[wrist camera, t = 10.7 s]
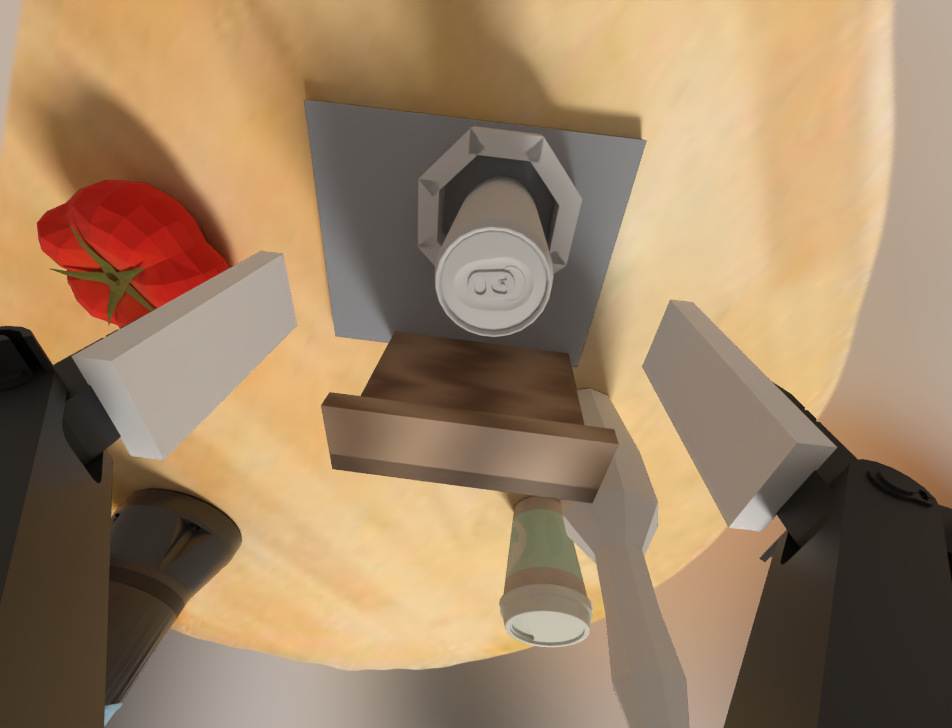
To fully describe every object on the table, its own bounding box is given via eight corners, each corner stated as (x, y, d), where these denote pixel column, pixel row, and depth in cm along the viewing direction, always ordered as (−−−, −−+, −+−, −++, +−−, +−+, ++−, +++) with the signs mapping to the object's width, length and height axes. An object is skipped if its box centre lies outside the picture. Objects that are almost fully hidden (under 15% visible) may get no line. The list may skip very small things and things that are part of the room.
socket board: (340, 330, 32) (322, 352, 29) (311, 100, 23) (282, 98, 20) (575, 360, 31) (581, 385, 29) (641, 139, 22) (660, 143, 20)
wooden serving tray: (398, 337, 32) (332, 468, 20) (397, 288, 29) (321, 405, 18) (563, 358, 31) (592, 503, 20) (577, 310, 29) (619, 444, 17)
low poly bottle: (609, 436, 36) (705, 769, 18) (543, 429, 36) (572, 751, 18) (629, 384, 32) (775, 734, 14) (555, 376, 33) (608, 712, 14)
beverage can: (535, 250, 26) (552, 339, 16) (465, 253, 26) (439, 341, 16) (537, 171, 23) (559, 218, 13) (458, 176, 23) (423, 225, 14)
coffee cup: (514, 480, 41) (515, 599, 31) (589, 497, 41) (613, 620, 31) (493, 523, 45) (488, 639, 36) (560, 538, 46) (573, 656, 36)
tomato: (172, 153, 25) (79, 165, 20) (275, 297, 31) (223, 337, 25) (78, 206, 28) (-27, 230, 22) (188, 330, 33) (125, 373, 28)
